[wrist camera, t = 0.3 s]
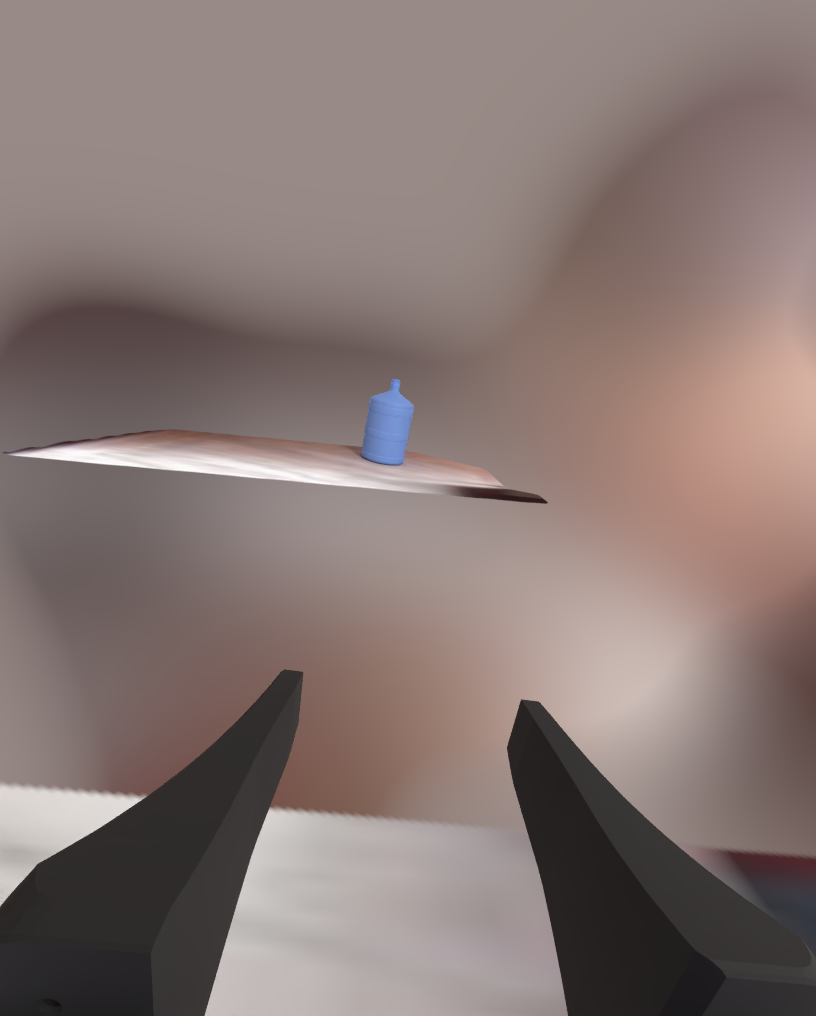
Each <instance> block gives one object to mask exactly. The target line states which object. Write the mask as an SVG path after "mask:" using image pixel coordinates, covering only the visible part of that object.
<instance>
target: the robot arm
mask: <svg viewBox="0 0 816 1016" xmlns="http://www.w3.org/2000/svg"><path fill="white" fill-rule="evenodd" d="M302 679H303V672H299V671H292V670H283V671H282V672H280V674H279V675H278V676H277V677H276V679H275V680H274V682H272V684H271V685H270V686H269V687H268V688H267V690H266V691H265V692H264V693H263V694H262V695H261V696H260V698H259V699H258V700H257V701H256V702H255V703H254V704H253V705H252V706H251V707H250V708H249V709H248V711H246V712H245V713H244V715H243V716H242V717H241V718H240V719H239V720H238V721H237V722H236V723H235V724H234V725H233V726H232V727H230V728H229V729H228V730H227V731H226V732H225V733H224V734H223V735H222V736H221V737H220V738H219V739H218V740H217V741H216V742H215V743H214V744H213V745H212V746H210V747H209V748H208V749H207V750H206V751H205V752H204V753H202V754H201V755H200V756H199V757H198V758H196V759H195V760H194V761H193V762H192V763H190V764H189V765H188V766H187V767H186V768H185V769H183V770H182V771H181V772H179V773H178V774H177V775H175V776H174V777H173V778H171V779H170V780H169V781H168V782H166V783H165V784H164V785H162V786H161V787H160V788H158V789H157V790H156V791H154V792H153V793H151V794H150V795H149V796H147V797H146V798H144V799H143V800H141V801H140V802H138V803H137V804H135V805H134V806H132V807H131V808H129V809H128V810H126V811H125V812H123V813H122V814H120V815H119V816H117V817H116V818H114V819H113V820H111V821H110V822H108V823H107V824H105V825H104V826H102V827H101V828H99V829H97V830H96V831H94V832H93V833H91V834H89V835H87V836H86V837H84V838H82V839H81V840H79V841H77V842H75V843H74V844H72V845H70V846H68V847H67V848H65V849H63V850H62V851H60V852H58V853H56V854H55V855H53V856H51V857H49V858H48V859H46V860H44V861H42V862H40V863H39V864H37V865H36V867H35V868H34V869H33V870H32V871H31V872H30V873H29V875H28V876H27V877H26V878H25V879H24V880H23V881H22V882H21V883H20V884H19V885H18V886H17V887H16V889H15V890H14V891H13V892H12V893H11V894H10V896H9V897H8V898H7V899H6V900H5V901H4V903H3V904H2V905H1V906H0V1016H204V1015H205V1012H206V1008H207V1005H208V1001H209V998H210V994H211V991H212V987H213V984H214V980H215V977H216V973H217V970H218V966H219V963H220V959H221V956H222V952H223V949H224V946H225V942H226V939H227V935H228V932H229V929H230V925H231V922H232V918H233V915H234V912H235V908H236V905H237V901H238V898H239V895H240V891H241V888H242V885H243V882H244V878H245V875H246V872H247V868H248V865H249V862H250V858H251V855H252V853H253V850H254V847H255V844H256V841H257V838H258V836H259V833H260V830H261V828H262V825H263V823H264V820H265V818H266V815H267V812H268V810H269V807H270V804H271V802H272V799H273V797H274V794H275V792H276V789H277V787H278V784H279V781H280V779H281V776H282V774H283V771H284V768H285V766H286V763H287V760H288V758H289V754H290V751H291V748H292V744H293V741H294V737H295V733H296V730H297V726H298V721H299V710H300V701H301V690H302V681H303V680H302ZM507 751H508V757H509V762H510V769H511V774H512V779H513V784H514V787H515V791H516V794H517V798H518V801H519V805H520V808H521V812H522V815H523V818H524V821H525V825H526V828H527V832H528V835H529V839H530V842H531V845H532V849H533V852H534V855H535V859H536V862H537V865H538V869H539V873H540V877H541V881H542V884H543V889H544V893H545V898H546V903H547V908H548V912H549V917H550V922H551V926H552V931H553V936H554V941H555V947H556V952H557V957H558V962H559V967H560V972H561V978H562V983H563V989H564V994H565V1000H566V1006H567V1012H568V1016H816V957H815V956H814V955H813V953H812V952H811V951H810V949H809V948H808V946H807V945H806V944H805V942H804V941H803V940H802V938H801V937H800V936H798V935H797V934H795V933H794V932H793V931H791V930H790V929H788V928H787V927H785V926H784V925H782V924H781V923H779V922H778V921H777V920H775V919H774V918H772V917H771V916H769V915H768V914H766V913H765V912H763V911H762V910H761V909H759V908H758V907H756V906H755V905H753V904H752V903H750V902H749V901H747V900H746V899H745V898H743V897H742V896H741V895H739V894H738V893H737V892H735V891H734V890H733V889H731V888H730V887H729V886H727V885H726V884H725V883H723V882H722V881H721V880H719V879H718V878H717V877H715V876H714V875H713V874H711V873H710V872H709V871H708V870H706V869H705V868H704V867H703V866H701V865H700V864H699V863H698V862H696V861H695V860H694V859H693V858H691V857H690V856H689V855H688V854H687V853H685V852H684V851H683V850H682V849H681V848H679V847H678V846H677V845H676V844H675V843H673V842H672V841H671V840H670V839H669V838H667V837H666V836H665V835H664V834H663V833H662V832H661V831H659V830H658V829H657V828H656V827H655V826H654V825H653V824H652V823H650V821H649V820H647V819H646V818H645V817H644V816H643V815H642V814H641V813H640V812H639V811H638V810H637V809H636V808H635V807H633V806H632V805H631V804H630V803H629V802H628V801H627V800H626V799H625V798H624V797H623V796H622V795H621V794H620V793H619V792H618V791H617V790H616V789H615V788H614V787H613V785H612V784H611V783H610V782H609V781H608V780H607V779H606V778H605V777H604V776H603V775H602V774H601V773H600V772H599V771H598V770H597V768H596V767H595V766H594V765H593V764H592V763H591V762H590V761H589V760H588V759H587V757H586V756H585V755H584V754H583V753H582V752H581V750H580V749H579V748H578V747H577V746H576V745H575V744H574V742H573V741H572V740H571V739H570V738H569V737H568V735H567V734H566V733H565V732H564V731H563V729H562V728H561V727H560V726H559V725H558V724H557V722H556V721H555V720H554V719H553V717H552V716H551V715H550V714H549V713H548V712H547V710H546V709H545V708H544V707H543V706H542V705H541V703H539V702H537V701H529V700H521V702H520V705H519V709H518V712H517V716H516V719H515V722H514V725H513V729H512V732H511V736H510V739H509V742H508V746H507Z"/></svg>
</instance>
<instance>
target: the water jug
mask: <svg viewBox="0 0 816 1016" xmlns="http://www.w3.org/2000/svg"><path fill="white" fill-rule="evenodd" d="M400 382H401V381H400V380H396V379H392V383H391V387H390V390H389V391H388V392H385V393H382V394H378V395H375V396H372V397H371V398H370V402H369V407H368V409H369V410H368V416H367V422H366V426H365V435H364V441H363V447H362V451H361V455H362V456H363V457H364V458H365V459H367V460H369V461H372V462H376V463H380V464H386V465H399V464H402V463H403V462H404V458H405V456H404V455H405V450H406V445H407V441H408V435H409V429H410V425H411V420H412V416H413V410H414V405H413V404H412V403H410V402H409V401H408V400H407V399H405V398H404V397H403V396H402V395H401V394H400V393H399V387H400Z"/></svg>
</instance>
